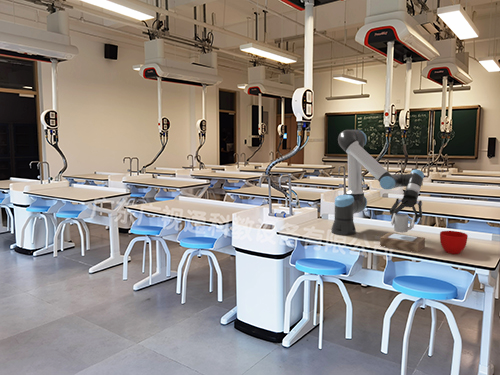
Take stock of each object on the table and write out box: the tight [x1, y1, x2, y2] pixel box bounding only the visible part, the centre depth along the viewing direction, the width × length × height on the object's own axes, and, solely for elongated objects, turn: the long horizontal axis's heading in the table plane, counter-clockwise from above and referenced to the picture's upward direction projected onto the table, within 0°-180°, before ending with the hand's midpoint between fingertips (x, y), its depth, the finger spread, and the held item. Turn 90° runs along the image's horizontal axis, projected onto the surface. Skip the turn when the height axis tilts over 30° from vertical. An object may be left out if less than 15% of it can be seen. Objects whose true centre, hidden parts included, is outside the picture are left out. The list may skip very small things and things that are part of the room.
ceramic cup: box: [439, 230, 468, 255], centre depth 211 cm, size 13×17×10 cm
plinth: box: [379, 232, 426, 253], centre depth 221 cm, size 20×14×5 cm
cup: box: [393, 213, 413, 234], centre depth 219 cm, size 7×10×9 cm
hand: (402, 225), depth 217 cm, fingers closed on cup, 10 cm apart
